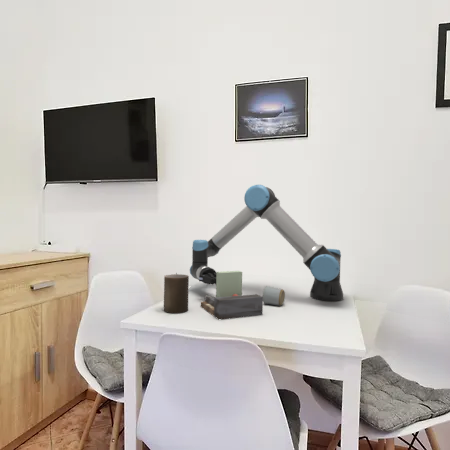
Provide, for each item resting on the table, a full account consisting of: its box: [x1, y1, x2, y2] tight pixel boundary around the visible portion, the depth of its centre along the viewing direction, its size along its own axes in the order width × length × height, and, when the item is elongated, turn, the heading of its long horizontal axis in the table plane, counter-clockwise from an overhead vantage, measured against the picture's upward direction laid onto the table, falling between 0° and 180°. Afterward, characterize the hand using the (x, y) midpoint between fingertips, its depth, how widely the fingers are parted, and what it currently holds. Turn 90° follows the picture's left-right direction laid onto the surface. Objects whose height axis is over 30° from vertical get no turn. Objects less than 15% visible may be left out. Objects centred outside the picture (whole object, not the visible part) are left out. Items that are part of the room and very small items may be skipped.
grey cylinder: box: [262, 285, 286, 306], centre depth 157 cm, size 11×8×8 cm
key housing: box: [200, 293, 264, 320], centre depth 144 cm, size 20×18×8 cm
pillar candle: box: [163, 272, 190, 314], centre depth 143 cm, size 10×10×15 cm
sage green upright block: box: [215, 270, 243, 297], centre depth 145 cm, size 3×10×13 cm, turn 113°
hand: (226, 284), depth 147 cm, fingers closed
